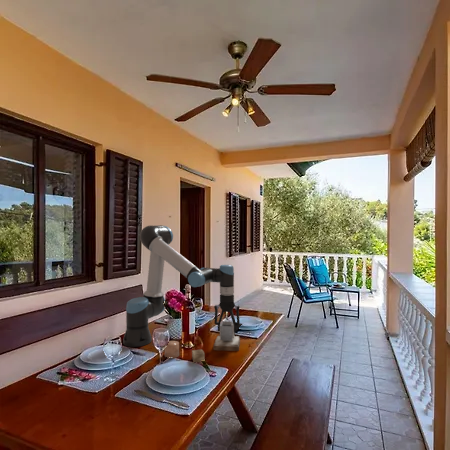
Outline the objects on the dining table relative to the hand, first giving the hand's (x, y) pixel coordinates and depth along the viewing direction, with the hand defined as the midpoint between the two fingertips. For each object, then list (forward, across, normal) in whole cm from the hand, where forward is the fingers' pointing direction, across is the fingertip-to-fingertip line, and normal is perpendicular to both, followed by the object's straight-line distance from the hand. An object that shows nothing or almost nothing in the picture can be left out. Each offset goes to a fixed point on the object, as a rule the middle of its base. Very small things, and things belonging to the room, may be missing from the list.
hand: (227, 337), depth 165 cm
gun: (+5, 0, +20) cm, 21 cm away
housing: (0, 0, 0) cm, 0 cm away
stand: (+4, 0, 0) cm, 4 cm away
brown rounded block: (+4, -26, -15) cm, 30 cm away
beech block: (+4, -12, -19) cm, 23 cm away
